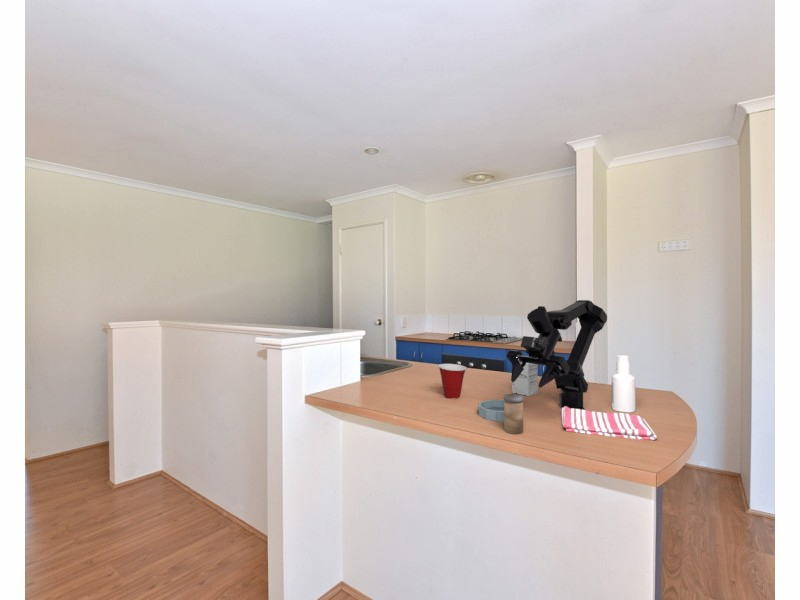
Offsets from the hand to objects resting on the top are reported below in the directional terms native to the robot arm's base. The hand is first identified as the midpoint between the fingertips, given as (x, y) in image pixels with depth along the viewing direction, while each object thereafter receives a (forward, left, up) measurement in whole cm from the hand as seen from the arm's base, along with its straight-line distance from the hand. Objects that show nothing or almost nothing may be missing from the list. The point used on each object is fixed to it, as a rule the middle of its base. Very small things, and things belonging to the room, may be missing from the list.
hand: (525, 384), depth 116 cm
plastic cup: (+21, -32, -13) cm, 40 cm away
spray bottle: (-35, -19, -13) cm, 41 cm away
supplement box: (-7, -39, -13) cm, 41 cm away
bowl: (+6, -11, -12) cm, 17 cm away
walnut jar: (+4, +4, -12) cm, 14 cm away
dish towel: (-23, -2, -13) cm, 26 cm away
